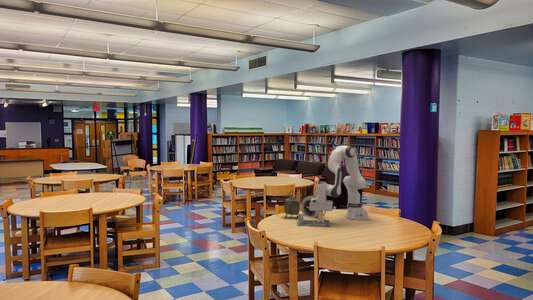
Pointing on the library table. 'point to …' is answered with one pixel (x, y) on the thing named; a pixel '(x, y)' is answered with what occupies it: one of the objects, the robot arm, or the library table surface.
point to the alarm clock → (305, 207)
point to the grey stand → (319, 219)
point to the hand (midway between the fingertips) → (320, 215)
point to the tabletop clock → (292, 205)
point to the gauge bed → (309, 223)
